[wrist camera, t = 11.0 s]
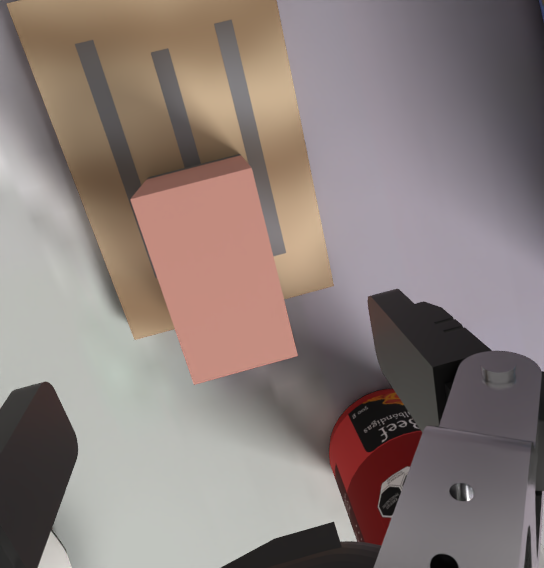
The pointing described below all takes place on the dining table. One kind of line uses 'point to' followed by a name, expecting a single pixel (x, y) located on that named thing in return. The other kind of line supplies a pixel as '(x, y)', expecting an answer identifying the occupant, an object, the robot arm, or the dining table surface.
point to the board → (173, 123)
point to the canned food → (374, 461)
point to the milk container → (54, 554)
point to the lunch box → (542, 7)
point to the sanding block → (215, 267)
